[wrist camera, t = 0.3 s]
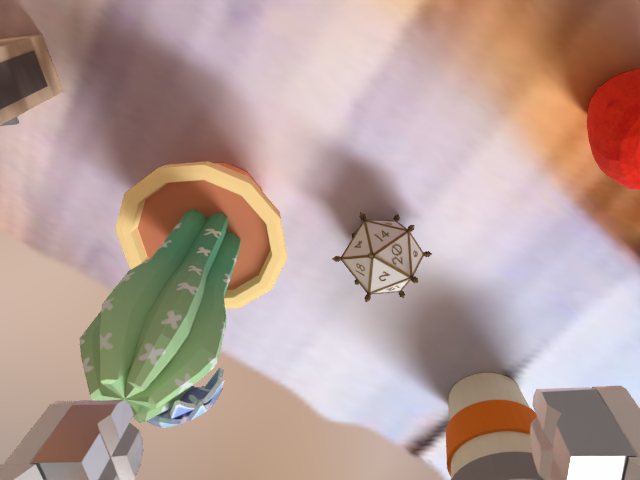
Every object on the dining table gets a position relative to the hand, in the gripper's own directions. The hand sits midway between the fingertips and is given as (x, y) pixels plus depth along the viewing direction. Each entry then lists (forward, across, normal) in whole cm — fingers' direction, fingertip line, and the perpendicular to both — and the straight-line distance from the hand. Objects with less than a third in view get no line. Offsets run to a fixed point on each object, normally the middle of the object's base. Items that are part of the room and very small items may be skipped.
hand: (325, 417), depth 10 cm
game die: (+40, -2, +15) cm, 43 cm away
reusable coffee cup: (+43, -14, +40) cm, 60 cm away
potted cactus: (+40, +14, +10) cm, 43 cm away
